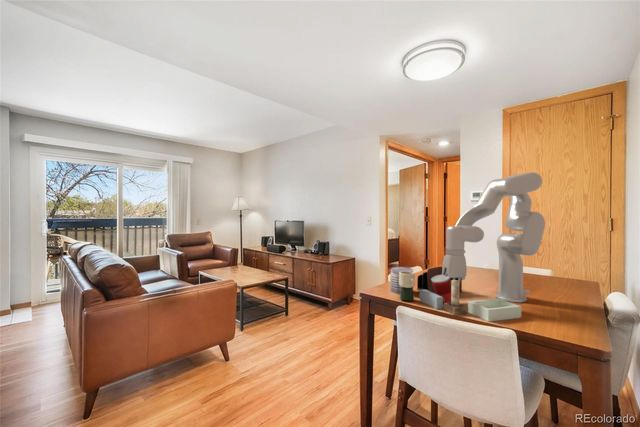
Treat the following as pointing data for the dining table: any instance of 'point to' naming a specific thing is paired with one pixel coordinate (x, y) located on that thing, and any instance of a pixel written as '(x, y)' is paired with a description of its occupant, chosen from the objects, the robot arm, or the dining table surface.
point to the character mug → (406, 285)
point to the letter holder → (426, 282)
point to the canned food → (442, 287)
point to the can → (397, 279)
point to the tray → (494, 309)
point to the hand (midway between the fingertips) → (454, 292)
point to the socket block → (455, 309)
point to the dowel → (455, 293)
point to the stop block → (431, 299)
